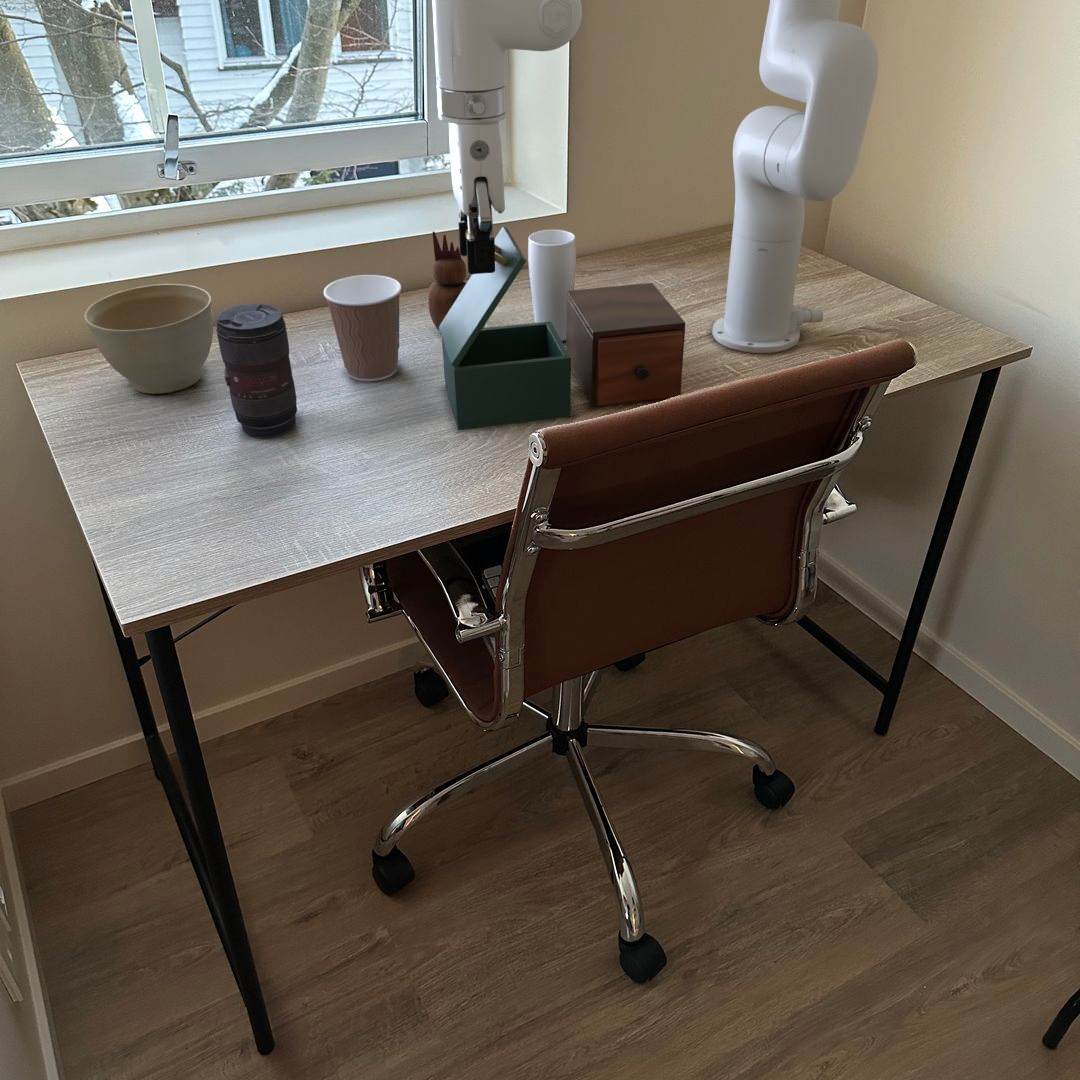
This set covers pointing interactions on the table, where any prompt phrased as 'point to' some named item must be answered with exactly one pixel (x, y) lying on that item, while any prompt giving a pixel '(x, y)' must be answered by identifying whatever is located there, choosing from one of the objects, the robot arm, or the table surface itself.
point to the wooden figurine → (445, 280)
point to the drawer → (638, 366)
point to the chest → (510, 377)
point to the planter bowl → (154, 334)
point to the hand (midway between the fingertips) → (477, 262)
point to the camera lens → (258, 368)
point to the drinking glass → (551, 276)
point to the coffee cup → (366, 324)
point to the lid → (480, 298)
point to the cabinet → (613, 325)
